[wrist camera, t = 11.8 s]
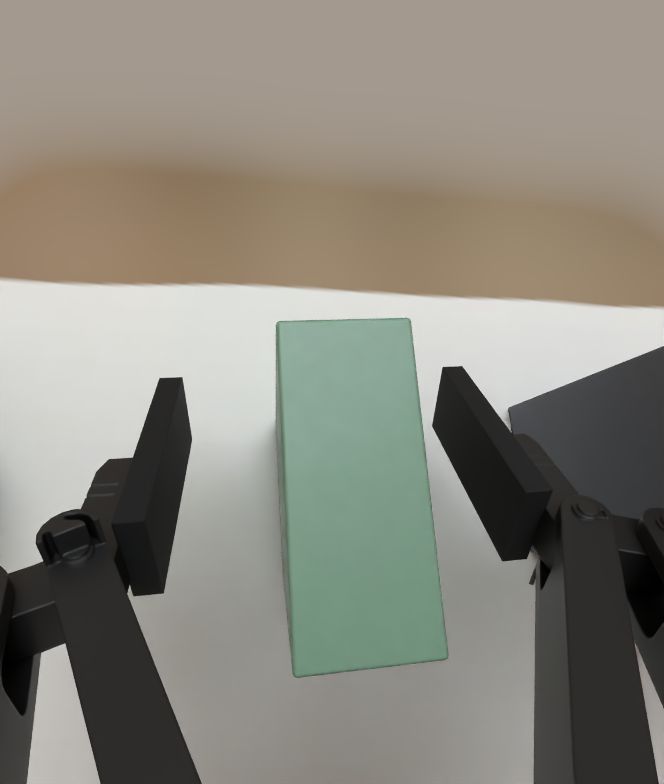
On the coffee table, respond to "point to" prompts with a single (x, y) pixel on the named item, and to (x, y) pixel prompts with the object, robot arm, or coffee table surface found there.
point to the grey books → (605, 433)
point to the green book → (355, 498)
